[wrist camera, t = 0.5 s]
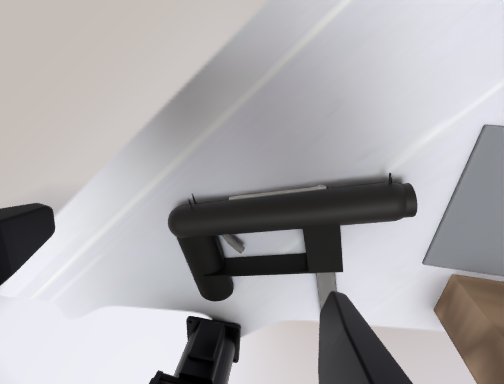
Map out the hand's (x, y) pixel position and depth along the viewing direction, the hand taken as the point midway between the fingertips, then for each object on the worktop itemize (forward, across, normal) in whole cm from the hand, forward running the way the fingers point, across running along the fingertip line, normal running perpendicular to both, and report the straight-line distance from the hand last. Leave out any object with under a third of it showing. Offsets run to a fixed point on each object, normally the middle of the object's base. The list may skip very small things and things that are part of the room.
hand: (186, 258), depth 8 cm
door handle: (+15, -6, +9) cm, 18 cm away
